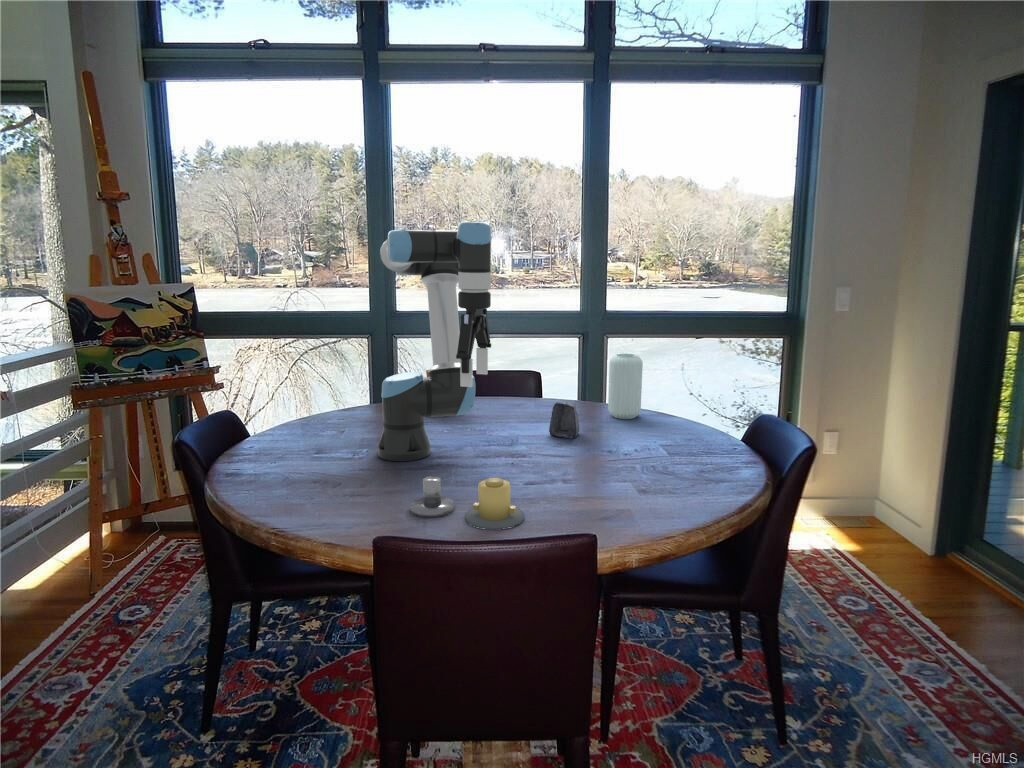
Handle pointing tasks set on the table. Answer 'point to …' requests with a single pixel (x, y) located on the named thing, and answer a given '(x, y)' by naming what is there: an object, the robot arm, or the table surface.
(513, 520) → the rubber mat
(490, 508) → the cap
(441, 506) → the metal disc with peg
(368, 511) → the table surface
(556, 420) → the stone
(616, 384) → the vase
